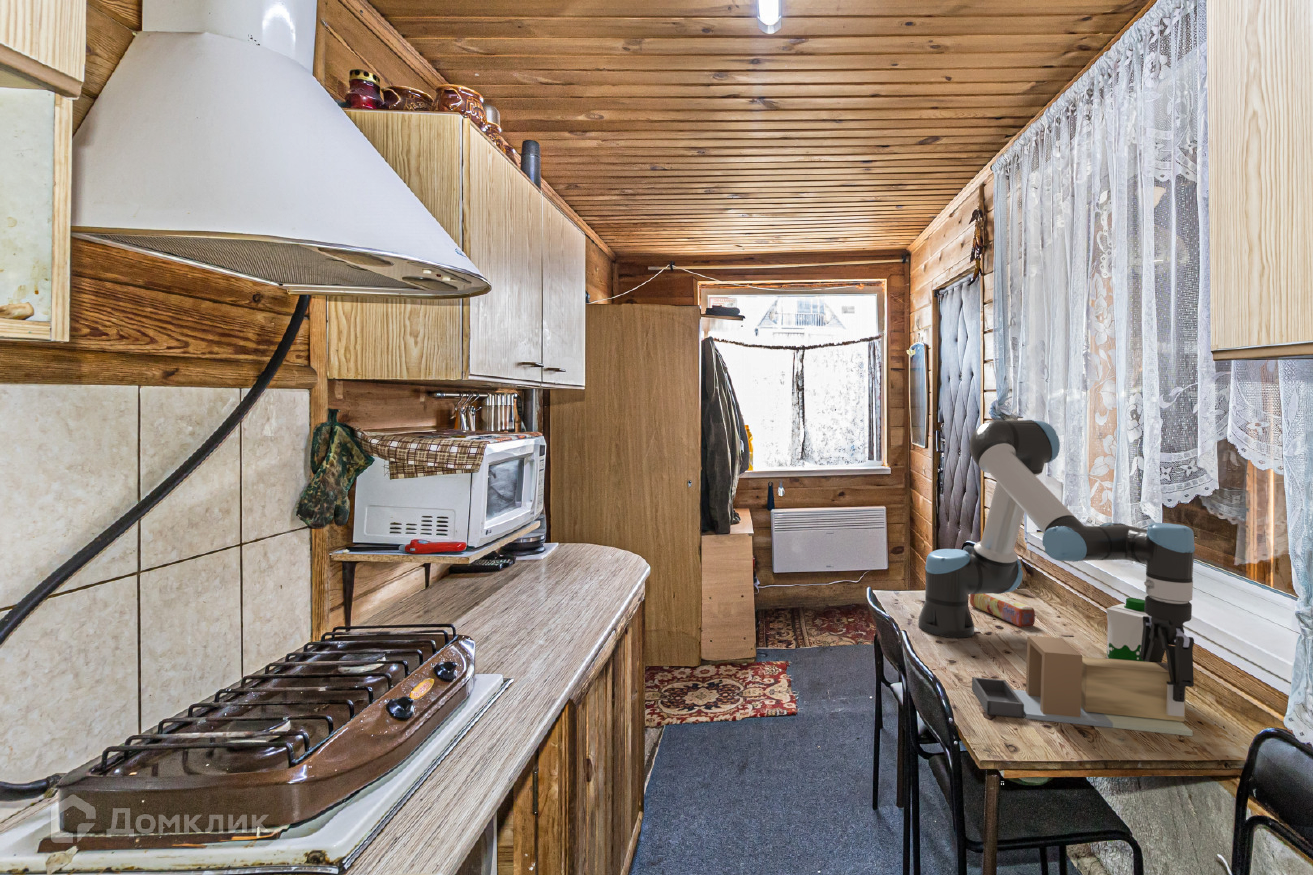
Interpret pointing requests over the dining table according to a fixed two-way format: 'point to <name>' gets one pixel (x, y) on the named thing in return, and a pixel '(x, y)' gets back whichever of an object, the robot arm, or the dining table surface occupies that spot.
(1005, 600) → the snack package
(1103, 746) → the dining table surface
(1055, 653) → the board
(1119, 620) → the milk carton
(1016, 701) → the tray
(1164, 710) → the block
